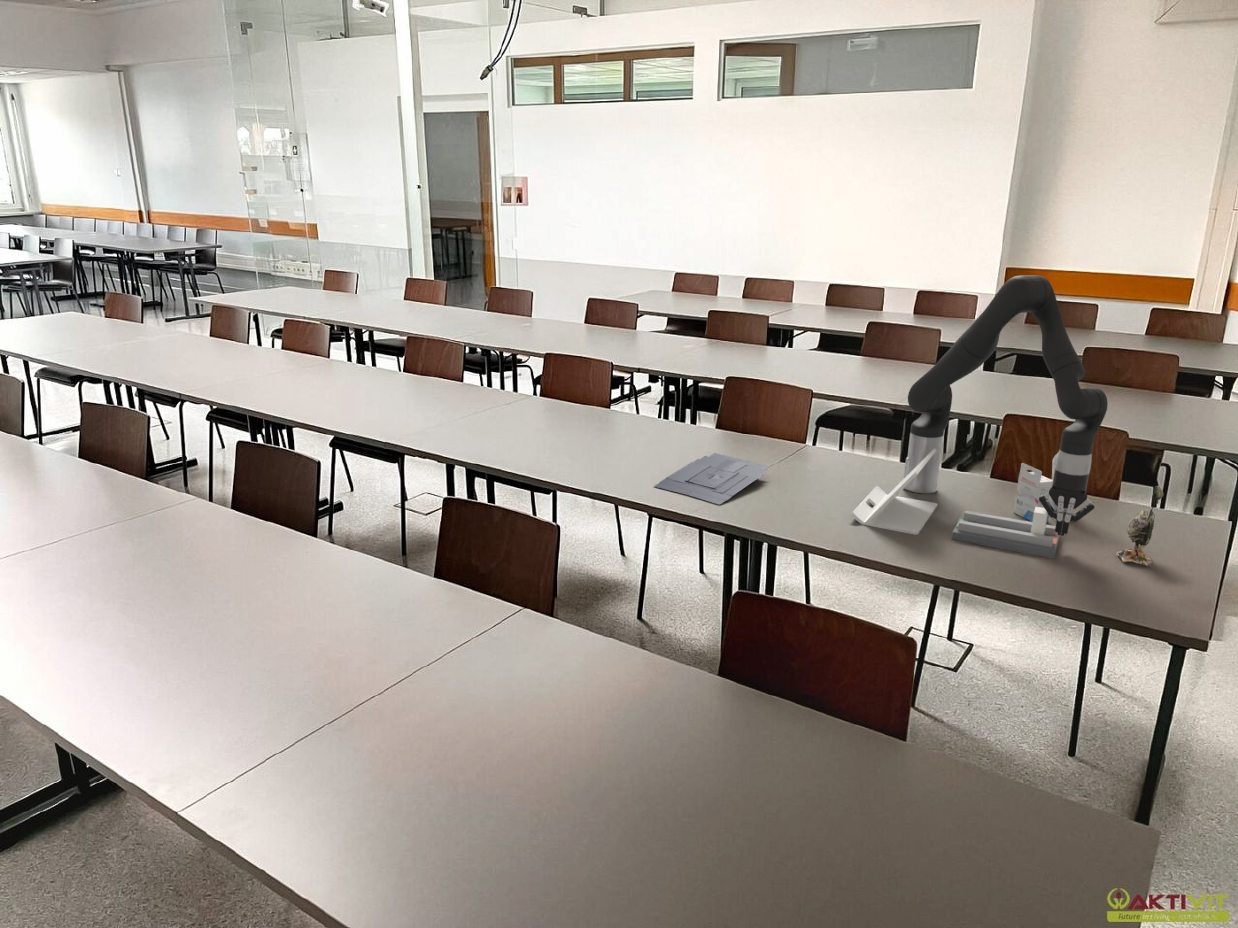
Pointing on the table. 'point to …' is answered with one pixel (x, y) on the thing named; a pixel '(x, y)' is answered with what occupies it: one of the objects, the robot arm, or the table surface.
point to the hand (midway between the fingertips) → (1060, 534)
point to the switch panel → (1004, 542)
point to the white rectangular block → (1039, 521)
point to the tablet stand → (896, 507)
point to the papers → (713, 477)
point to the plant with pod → (1141, 533)
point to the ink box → (1030, 491)
